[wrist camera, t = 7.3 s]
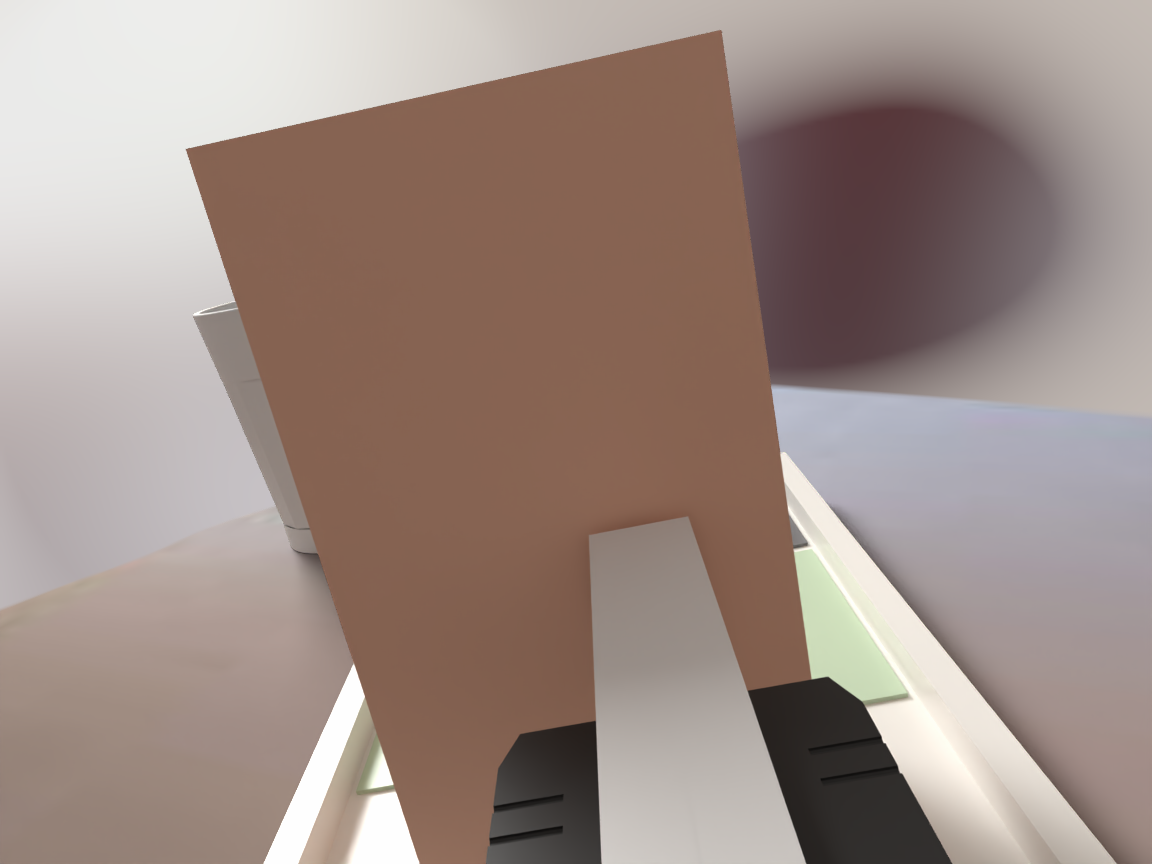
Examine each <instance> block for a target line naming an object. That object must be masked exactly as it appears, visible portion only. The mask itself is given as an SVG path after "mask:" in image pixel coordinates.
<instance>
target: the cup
mask: <svg viewBox="0 0 1152 864" xmlns="http://www.w3.org/2000/svg"><path fill="white" fill-rule="evenodd" d="M193 318H194V320H195V322H196V324H197V326H198V329H199V331H200V333H201V335H202V337H203V340H204V342H205V344H206V347H207V349H208V351H209V353H210V355H211V358H212V360H213V362H214V364H215V367H216V369H217V371H218V373H219V376H220V378H221V380H222V382H223V384H224V386H225V388H226V391H227V393H228V396H229V398H230V400H231V402H232V405H233V407H234V409H235V412H236V414H237V416H238V419H239V421H240V423H241V425H242V428H243V430H244V433H245V435H246V437H247V440H248V442H249V444H250V447H251V449H252V451H253V454H254V456H255V458H256V460H257V463H258V465H259V468H260V470H261V472H262V474H263V477H264V479H265V481H266V484H267V486H268V488H269V491H270V493H271V495H272V498H273V500H274V502H275V505H276V507H277V509H278V512H279V514H280V516H281V519H282V521H283V524H284V527H285V530H286V533H287V536H288V539H289V542H290V545H291V547H292V548H293V549H294V550H296V551H298V552H302V553H318V552H317V549H316V546H315V543H314V540H313V537H312V534H311V531H310V528H309V525H308V522H307V518H306V515H305V512H304V509H303V506H302V503H301V500H300V497H299V494H298V491H297V488H296V485H295V482H294V479H293V476H292V473H291V470H290V466H289V463H288V460H287V457H286V454H285V451H284V448H283V445H282V442H281V439H280V436H279V433H278V430H277V427H276V424H275V421H274V417H273V414H272V411H271V408H270V405H269V402H268V399H267V396H266V393H265V390H264V387H263V384H262V381H261V378H260V375H259V372H258V369H257V365H256V362H255V359H254V356H253V353H252V350H251V347H250V344H249V341H248V338H247V335H246V332H245V329H244V326H243V323H242V320H241V317H240V313H239V310H238V307H237V304H236V301H233V302H229V303H226V304H222V305H219V306H215V307H212V308H209V309H205V310H202V311H199V312H197V313H195V314H194V315H193Z"/></svg>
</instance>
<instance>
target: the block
mask: <svg viewBox="0 0 1152 864" xmlns="http://www.w3.org/2000/svg"><path fill="white" fill-rule="evenodd" d="M186 151H187V154H188V157H189V160H190V164H191V167H192V170H193V173H194V176H195V179H196V182H197V185H198V188H199V191H200V194H201V197H202V200H203V203H204V206H205V209H206V213H207V215H208V219H209V221H210V225H211V228H212V231H213V234H214V237H215V240H216V243H217V246H218V249H219V252H220V255H221V258H222V261H223V265H224V268H225V270H226V274H227V277H228V280H229V283H230V286H231V289H232V292H233V295H234V298H235V301H236V304H237V307H238V310H239V313H240V317H241V320H242V323H243V326H244V329H245V332H246V335H247V338H248V341H249V344H250V347H251V350H252V353H253V356H254V359H255V362H256V365H257V369H258V372H259V375H260V378H261V381H262V384H263V387H264V390H265V393H266V396H267V399H268V402H269V405H270V408H271V411H272V414H273V417H274V421H275V424H276V427H277V430H278V433H279V436H280V439H281V442H282V445H283V448H284V451H285V454H286V457H287V460H288V463H289V466H290V470H291V473H292V476H293V479H294V482H295V485H296V488H297V491H298V494H299V497H300V500H301V503H302V506H303V509H304V512H305V515H306V518H307V522H308V525H309V528H310V531H311V534H312V537H313V540H314V543H315V546H316V549H317V552H318V555H319V558H320V561H321V564H322V567H323V570H324V574H325V577H326V580H327V583H328V586H329V589H330V592H331V595H332V598H333V601H334V604H335V607H336V610H337V613H338V616H339V619H340V622H341V626H342V629H343V632H344V635H345V638H346V641H347V644H348V647H349V650H350V653H351V656H352V659H353V662H354V665H355V668H356V671H357V674H358V678H359V681H360V684H361V687H362V690H363V693H364V696H365V699H366V702H367V705H368V708H369V711H370V714H371V717H372V720H373V723H374V727H375V730H376V733H377V736H378V739H379V742H380V745H381V748H382V751H383V754H384V757H385V760H386V763H387V766H388V769H389V772H390V775H391V779H392V782H393V785H394V788H395V791H396V794H397V797H398V800H399V803H400V806H401V809H402V812H403V815H404V818H405V821H406V824H407V827H408V831H409V834H410V837H411V840H412V843H413V846H414V849H415V852H416V855H417V858H418V861H419V864H486V857H487V849H488V846H490V841H489V834H490V826H491V819H492V814H493V813H494V808H493V804H494V796H495V788H496V781H497V773H498V768H499V766H500V765H501V763H502V762H503V760H504V758H505V757H506V755H507V754H508V752H509V751H510V749H511V747H512V746H513V744H514V743H515V741H516V740H517V738H518V736H519V735H520V734H523V733H528V732H534V731H540V730H545V729H551V728H557V727H562V726H568V725H574V724H579V723H585V722H591V721H596V707H595V681H594V656H593V630H592V605H591V579H590V553H589V535H592V534H597V533H602V532H608V531H613V530H618V529H624V528H629V527H634V526H639V525H645V524H650V523H655V522H660V521H666V520H671V519H676V518H682V517H687V516H688V517H689V520H690V523H691V526H692V529H693V532H694V535H695V538H696V541H697V544H698V547H699V550H700V553H701V556H702V559H703V562H704V565H705V567H706V570H707V573H708V576H709V579H710V582H711V585H712V588H713V591H714V594H715V597H716V600H717V603H718V606H719V609H720V612H721V615H722V618H723V620H724V623H725V626H726V629H727V632H728V635H729V638H730V641H731V644H732V647H733V650H734V653H735V656H736V659H737V662H738V665H739V668H740V670H741V673H742V676H743V679H744V682H745V685H746V688H747V691H748V690H754V689H760V688H766V687H771V686H777V685H783V684H788V683H794V682H800V681H805V680H811V679H812V678H811V671H810V663H809V656H808V649H807V642H806V635H805V627H804V620H803V613H802V606H801V599H800V591H799V584H798V577H797V570H796V563H795V556H794V548H793V541H792V534H791V527H790V520H789V512H788V505H787V498H786V491H785V484H784V477H783V469H782V462H781V455H780V448H779V441H778V433H777V426H776V419H775V412H774V405H773V397H772V390H771V383H770V376H769V369H768V362H767V355H766V347H765V340H764V333H763V326H762V318H761V312H760V305H759V297H758V290H757V283H756V275H755V268H754V261H753V254H752V247H751V239H750V232H749V225H748V218H747V211H746V204H745V197H744V190H743V182H742V175H741V168H740V160H739V154H738V146H737V139H736V132H735V125H734V118H733V110H732V104H731V96H730V89H729V81H728V74H727V68H726V60H725V53H724V46H723V39H722V31H721V30H719V31H714V32H710V33H706V34H701V35H697V36H692V37H688V38H683V39H679V40H674V41H669V42H665V43H660V44H656V45H651V46H647V47H642V48H638V49H633V50H629V51H624V52H620V53H615V54H611V55H606V56H602V57H598V58H593V59H589V60H584V61H580V62H575V63H570V64H566V65H561V66H558V67H553V68H548V69H544V70H539V71H534V72H530V73H525V74H521V75H517V76H512V77H508V78H503V79H498V80H495V81H490V82H485V83H481V84H476V85H472V86H467V87H463V88H458V89H454V90H449V91H445V92H440V93H436V94H431V95H427V96H423V97H418V98H413V99H409V100H404V101H400V102H395V103H391V104H386V105H382V106H377V107H373V108H368V109H364V110H359V111H355V112H351V113H346V114H341V115H337V116H332V117H328V118H323V119H319V120H314V121H310V122H305V123H301V124H296V125H292V126H287V127H283V128H278V129H274V130H269V131H265V132H261V133H256V134H251V135H247V136H242V137H238V138H234V139H229V140H224V141H220V142H216V143H211V144H206V145H202V146H197V147H193V148H188V149H186Z"/></svg>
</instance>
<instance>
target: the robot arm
mask: <svg viewBox="0 0 1152 864" xmlns="http://www.w3.org/2000/svg"><path fill="white" fill-rule="evenodd" d="M589 553H590V579H591V605H592V630H593V656H594V681H595V707H596V721H591V722H585V723H579V724H574V725H568V726H562V727H557V728H551V729H545V730H540V731H534V732H528V733H523V734H520V735H519V736H518V738H517V740H516V741H515V743H514V744H513V746H512V747H511V749H510V751H509V752H508V754H507V755H506V757H505V758H504V760H503V762H502V763H501V765H500V766H499V768H498V773H497V781H496V788H495V796H494V804H493V808H494V813H493V814H492V819H491V826H490V834H489V841H490V846H488V849H487V857H486V864H952V862H951V860H950V858H949V857H948V855H947V853H946V851H945V849H944V848H943V846H942V844H941V842H940V840H939V839H938V837H937V835H936V833H935V831H934V830H933V828H932V826H931V824H930V822H929V821H928V819H927V817H926V815H925V813H924V812H923V810H922V808H921V806H920V804H919V803H918V801H917V799H916V797H915V795H914V794H913V792H912V790H911V788H910V786H909V785H908V783H907V781H906V779H905V777H904V775H903V774H902V773H900V772H899V768H898V765H897V763H896V761H895V759H894V757H893V756H892V754H891V752H890V750H889V748H888V747H887V745H886V743H883V740H882V736H881V734H880V732H879V730H878V729H877V727H876V725H875V723H874V721H873V720H872V718H871V716H870V714H869V712H868V711H867V709H866V707H865V705H864V703H863V702H862V701H861V700H860V699H858V698H857V697H855V696H854V695H853V694H851V693H850V692H849V691H847V690H846V689H844V688H843V687H842V686H840V685H839V684H838V683H836V682H835V681H834V680H832V679H831V678H829V677H822V678H817V679H811V680H805V681H800V682H794V683H788V684H783V685H777V686H771V687H766V688H760V689H754V690H748V691H747V688H746V685H745V682H744V679H743V676H742V673H741V670H740V668H739V665H738V662H737V659H736V656H735V653H734V650H733V647H732V644H731V641H730V638H729V635H728V632H727V629H726V626H725V623H724V620H723V618H722V615H721V612H720V609H719V606H718V603H717V600H716V597H715V594H714V591H713V588H712V585H711V582H710V579H709V576H708V573H707V570H706V567H705V565H704V562H703V559H702V556H701V553H700V550H699V547H698V544H697V541H696V538H695V535H694V532H693V529H692V526H691V523H690V520H689V517H688V516H687V517H682V518H676V519H671V520H666V521H660V522H655V523H650V524H645V525H639V526H634V527H629V528H624V529H618V530H613V531H608V532H602V533H597V534H592V535H589Z"/></svg>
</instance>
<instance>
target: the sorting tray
mask: <svg viewBox="0 0 1152 864" xmlns="http://www.w3.org/2000/svg"><path fill="white" fill-rule="evenodd" d="M780 455H781V462H782V469H783V477H784V484H785V491H786V498H787V505H788V512H789V520H790V527H791V534H792V541H793V548H794V556H795V563H796V570H797V577H798V584H799V591H800V599H801V606H802V613H803V620H804V627H805V635H806V642H807V649H808V656H809V663H810V671H811V678H812V679H817V678H822V677H829V678H831V679H832V680H834V681H835V682H836V683H838V684H839V685H840V686H842V687H843V688H844V689H846V690H847V691H849V692H850V693H851V694H853V695H854V696H855V697H857V698H858V699H860V700H861V701H862V702H863V703H864V705H865V707H866V709H867V711H868V712H869V714H870V716H871V718H872V720H873V721H874V723H875V725H876V727H877V729H878V730H879V732H880V734H881V736H882V740H883V743H886V745H887V747H888V748H889V750H890V752H891V754H892V756H893V757H894V759H895V761H896V763H897V765H898V768H899V772H900V773H902V774H903V775H904V777H905V779H906V781H907V783H908V785H909V786H910V788H911V790H912V792H913V794H914V795H915V797H916V799H917V801H918V803H919V804H920V806H921V808H922V810H923V812H924V813H925V815H926V817H927V819H928V821H929V822H930V824H931V826H932V828H933V830H934V831H935V833H936V835H937V837H938V839H939V840H940V842H941V844H942V846H943V848H944V849H945V851H946V853H947V855H948V857H949V858H950V860H951V862H952V864H1117V863H1116V862H1115V861H1114V860H1113V858H1112V857H1111V856H1110V855H1109V853H1108V852H1107V851H1106V850H1105V848H1104V847H1103V846H1102V845H1101V843H1100V842H1099V841H1098V840H1097V838H1096V837H1095V836H1094V835H1093V834H1092V832H1091V831H1090V830H1089V829H1088V827H1087V826H1086V825H1085V824H1084V822H1083V821H1082V820H1081V819H1080V817H1079V816H1078V815H1077V814H1076V812H1075V811H1074V810H1073V809H1072V807H1071V806H1070V805H1069V804H1068V803H1067V801H1066V800H1065V799H1064V798H1063V796H1062V795H1061V794H1060V793H1059V791H1058V790H1057V789H1056V788H1055V786H1054V785H1053V784H1052V783H1051V781H1050V780H1049V779H1048V778H1047V776H1046V775H1045V774H1044V773H1043V772H1042V770H1041V769H1040V768H1039V767H1038V765H1037V764H1036V763H1035V762H1034V760H1033V759H1032V758H1031V757H1030V755H1029V754H1028V753H1027V752H1026V750H1025V749H1024V748H1023V747H1022V745H1021V744H1020V743H1019V742H1018V740H1017V739H1016V738H1015V737H1014V736H1013V734H1012V733H1011V732H1010V731H1009V729H1008V728H1007V727H1006V726H1005V724H1004V723H1003V722H1002V721H1001V719H1000V718H999V717H998V716H997V714H996V713H995V712H994V711H993V709H992V708H991V707H990V706H989V705H988V703H987V702H986V701H985V700H984V698H983V697H982V696H981V695H980V693H979V692H978V691H977V690H976V688H975V687H974V686H973V685H972V683H971V682H970V681H969V680H968V678H967V677H966V676H965V675H964V674H963V672H962V671H961V670H960V669H959V667H958V666H957V665H956V664H955V662H954V661H953V660H952V659H951V657H950V656H949V655H948V654H947V652H946V651H945V650H944V649H943V647H942V646H941V645H940V644H939V643H938V641H937V640H936V639H935V638H934V636H933V635H932V634H931V633H930V631H929V630H928V629H927V628H926V626H925V625H924V624H923V623H922V621H921V620H920V619H919V618H918V616H917V615H916V614H915V613H914V611H913V610H912V609H911V608H910V607H909V605H908V604H907V603H906V602H905V600H904V599H903V598H902V597H901V595H900V594H899V593H898V592H897V590H896V589H895V588H894V587H893V585H892V584H891V583H890V582H889V580H888V579H887V578H886V577H885V576H884V574H883V573H882V572H881V571H880V569H879V568H878V567H877V566H876V564H875V563H874V562H873V561H872V559H871V558H870V557H869V556H868V554H867V553H866V552H865V551H864V549H863V548H862V547H861V546H860V545H859V543H858V542H857V541H856V540H855V538H854V537H853V536H852V535H851V533H850V532H849V531H848V530H847V528H846V527H845V526H844V525H843V523H842V522H841V521H840V520H839V518H838V517H837V516H836V515H835V513H834V512H833V511H832V510H831V509H830V507H829V506H828V505H827V504H826V502H825V501H824V500H823V499H822V497H821V496H820V495H819V494H818V492H817V491H816V490H815V489H814V487H813V486H812V485H811V484H810V482H809V481H808V480H807V479H806V478H805V476H804V475H803V474H802V473H801V471H800V470H799V469H798V468H797V466H796V465H795V464H794V463H793V461H792V460H791V459H790V458H789V456H788V455H787V454H786V453H785V452H782V453H780ZM264 864H419V861H418V858H417V855H416V852H415V849H414V846H413V843H412V840H411V837H410V834H409V831H408V827H407V824H406V821H405V818H404V815H403V812H402V809H401V806H400V803H399V800H398V797H397V794H396V791H395V788H394V785H393V782H392V779H391V775H390V772H389V769H388V766H387V763H386V760H385V757H384V754H383V751H382V748H381V745H380V742H379V739H378V736H377V733H376V730H375V727H374V723H373V720H372V717H371V714H370V711H369V708H368V705H367V702H366V699H365V696H364V693H363V690H362V687H361V684H360V681H359V678H358V674H357V671H356V668H355V665H354V664H353V666H352V669H351V671H350V673H349V675H348V678H347V680H346V682H345V684H344V686H343V689H342V691H341V693H340V695H339V698H338V700H337V702H336V704H335V706H334V709H333V711H332V713H331V715H330V718H329V720H328V722H327V724H326V726H325V729H324V731H323V733H322V735H321V738H320V740H319V742H318V744H317V746H316V749H315V751H314V753H313V755H312V758H311V760H310V762H309V764H308V767H307V769H306V771H305V773H304V775H303V778H302V780H301V782H300V784H299V787H298V789H297V791H296V793H295V795H294V798H293V800H292V802H291V804H290V807H289V809H288V811H287V813H286V815H285V818H284V820H283V822H282V824H281V827H280V829H279V831H278V833H277V835H276V838H275V840H274V842H273V844H272V847H271V849H270V851H269V853H268V856H267V858H266V860H265V862H264Z"/></svg>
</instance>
